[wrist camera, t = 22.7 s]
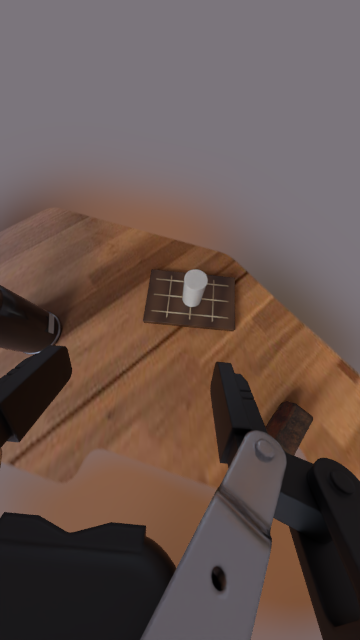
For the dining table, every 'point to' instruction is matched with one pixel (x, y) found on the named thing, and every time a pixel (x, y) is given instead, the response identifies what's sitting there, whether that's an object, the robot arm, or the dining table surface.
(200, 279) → the white upright cylinder
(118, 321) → the dining table surface
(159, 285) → the board
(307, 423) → the brick
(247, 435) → the robot arm
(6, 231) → the dining table surface
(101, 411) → the dining table surface
